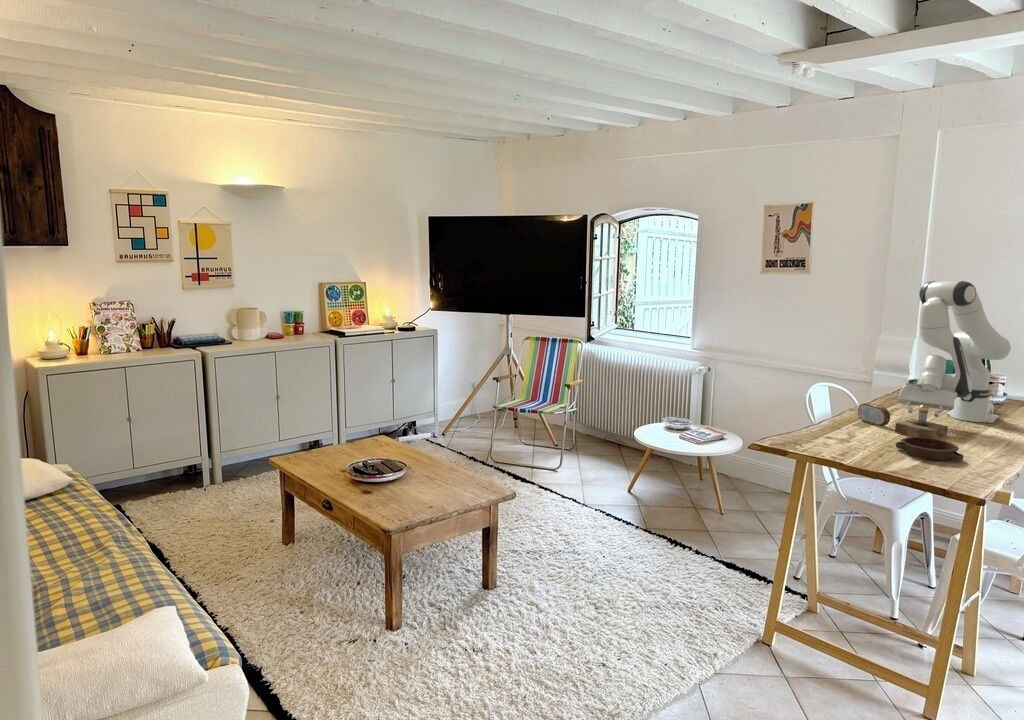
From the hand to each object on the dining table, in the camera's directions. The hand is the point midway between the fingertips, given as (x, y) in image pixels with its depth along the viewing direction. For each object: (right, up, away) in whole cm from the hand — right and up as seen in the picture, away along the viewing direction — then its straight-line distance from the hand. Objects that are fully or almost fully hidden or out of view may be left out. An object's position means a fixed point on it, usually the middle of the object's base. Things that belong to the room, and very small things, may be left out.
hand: (923, 414), depth 286 cm
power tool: (+47, 0, +56) cm, 73 cm away
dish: (-16, -13, -30) cm, 37 cm away
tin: (-13, -5, +15) cm, 21 cm away
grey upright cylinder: (-2, -8, -1) cm, 8 cm away
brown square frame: (-2, -8, -1) cm, 8 cm away
